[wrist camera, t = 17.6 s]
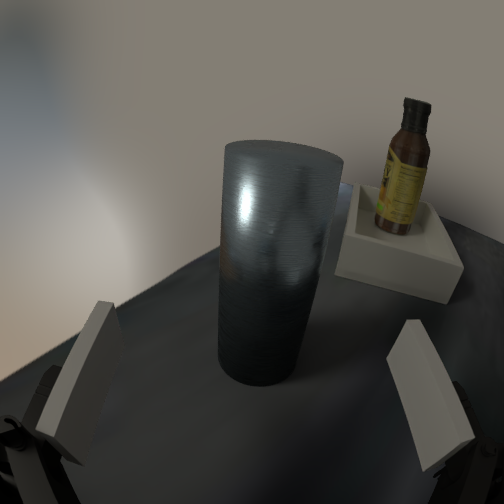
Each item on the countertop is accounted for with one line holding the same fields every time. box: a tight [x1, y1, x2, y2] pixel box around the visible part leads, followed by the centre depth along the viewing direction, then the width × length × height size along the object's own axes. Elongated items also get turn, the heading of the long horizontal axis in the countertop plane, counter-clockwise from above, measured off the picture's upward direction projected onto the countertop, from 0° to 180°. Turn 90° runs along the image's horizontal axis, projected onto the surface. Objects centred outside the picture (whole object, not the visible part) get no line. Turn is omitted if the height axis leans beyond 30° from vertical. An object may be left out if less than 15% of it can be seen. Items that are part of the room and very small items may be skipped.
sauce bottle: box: [374, 97, 431, 235], centre depth 38 cm, size 6×6×20 cm
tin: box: [218, 140, 344, 386], centre depth 19 cm, size 6×6×15 cm
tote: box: [335, 182, 464, 305], centre depth 39 cm, size 22×14×5 cm, turn 160°
